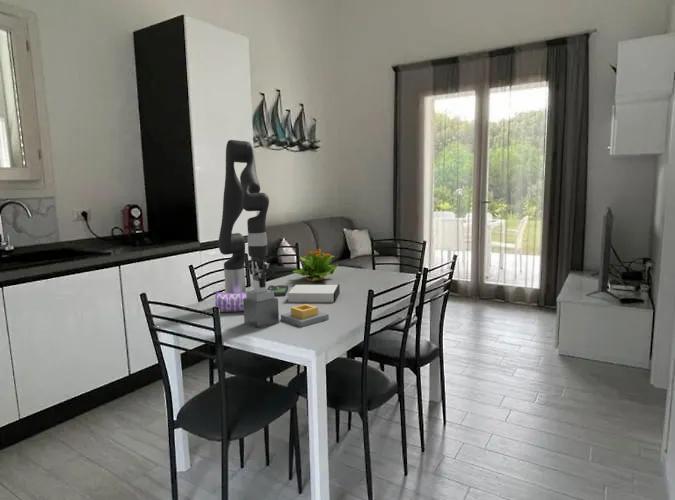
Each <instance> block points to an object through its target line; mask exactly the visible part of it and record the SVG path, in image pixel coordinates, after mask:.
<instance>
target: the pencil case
mask: <svg viewBox="0 0 675 500" xmlns="http://www.w3.org/2000/svg"><path fill="white" fill-rule="evenodd" d="M246 292H247V291H246ZM246 292H243V293H225V292H220V291H213V294H215V303H214V304H215V307H216V306H218V307H219V309H220V312H219V313H226V312H227V313H229V312H244V305H243V299H245V298H247V297H246Z"/></svg>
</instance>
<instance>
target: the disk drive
mask: <svg viewBox="0 0 675 500" xmlns="http://www.w3.org/2000/svg"><path fill="white" fill-rule="evenodd" d="M266 289H268V290H271V291H274V297H285V296H286V295H287V293H288V292H289V284H284V285H283V284H281V285H279V284H278V285H268V287H266Z"/></svg>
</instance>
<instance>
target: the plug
mask: <svg viewBox="0 0 675 500" xmlns="http://www.w3.org/2000/svg"><path fill="white" fill-rule="evenodd" d="M259 279H260V278H259V275H255V276H252V285H253V287H252V288H253V290H254V293H258V294H259V293H263V292H266V289H267V281H266V279H267V277H266V278H265V287H263V288H260V283H259Z"/></svg>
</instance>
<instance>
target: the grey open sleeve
mask: <svg viewBox="0 0 675 500" xmlns="http://www.w3.org/2000/svg"><path fill="white" fill-rule="evenodd" d="M246 297H247V298H245V299H243V305H244V311H243V319H244V322H243V323H244V324H247V325H248V324H249V326H251V327H253V328H256V329H261V328H264V327H268V326H272V325H276V324H279V323H280V319H279V318H280V316H279V315H280V312H279V298H278V297H276V296H274V291H271V290H268V289H267V288H266V292H263V293H259V294H258V293H254V289H252V290H246Z"/></svg>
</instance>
